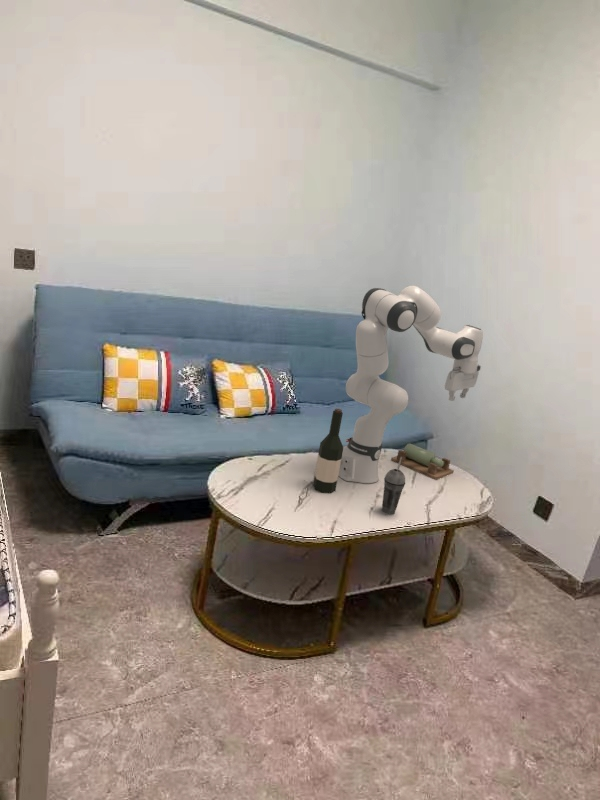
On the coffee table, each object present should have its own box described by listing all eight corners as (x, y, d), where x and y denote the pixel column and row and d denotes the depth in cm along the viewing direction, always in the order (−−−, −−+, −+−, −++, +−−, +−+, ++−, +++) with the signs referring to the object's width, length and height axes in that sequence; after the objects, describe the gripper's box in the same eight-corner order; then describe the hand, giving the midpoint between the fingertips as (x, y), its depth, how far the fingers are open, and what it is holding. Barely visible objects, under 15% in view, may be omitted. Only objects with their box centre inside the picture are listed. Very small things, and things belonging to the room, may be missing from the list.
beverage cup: (374, 510, 212) (385, 456, 207) (383, 504, 218) (394, 451, 213) (392, 518, 209) (404, 464, 203) (402, 512, 215) (414, 458, 209)
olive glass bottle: (401, 453, 261) (436, 468, 251) (408, 441, 262) (443, 455, 252) (406, 458, 266) (441, 473, 256) (412, 446, 267) (447, 460, 257)
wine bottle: (333, 495, 219) (348, 415, 211) (310, 490, 220) (324, 410, 212) (337, 486, 227) (351, 409, 219) (314, 481, 228) (328, 404, 220)
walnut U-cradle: (390, 460, 261) (393, 449, 260) (408, 454, 272) (410, 443, 270) (436, 480, 248) (439, 468, 246) (453, 473, 258) (455, 461, 257)
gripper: (459, 370, 237) (451, 404, 241) (483, 366, 253) (475, 398, 257) (444, 365, 241) (437, 399, 245) (469, 362, 257) (461, 394, 260)
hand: (456, 399), depth 251 cm, fingers open, 8 cm apart
